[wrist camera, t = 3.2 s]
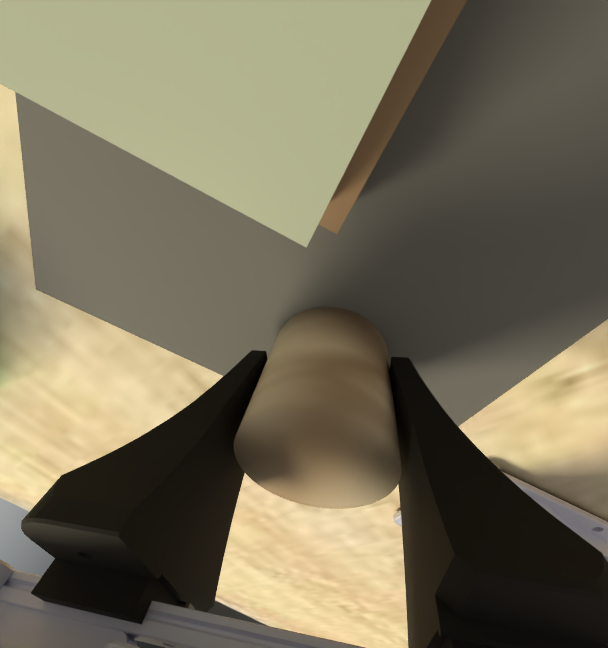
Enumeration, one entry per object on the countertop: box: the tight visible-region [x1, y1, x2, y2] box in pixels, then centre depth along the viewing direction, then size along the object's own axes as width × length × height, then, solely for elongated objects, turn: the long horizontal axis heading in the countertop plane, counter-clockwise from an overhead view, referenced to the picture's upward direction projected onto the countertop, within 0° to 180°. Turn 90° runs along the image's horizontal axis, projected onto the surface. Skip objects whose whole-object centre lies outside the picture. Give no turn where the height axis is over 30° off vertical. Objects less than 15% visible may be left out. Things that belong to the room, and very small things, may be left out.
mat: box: [15, 0, 608, 426], centre depth 10 cm, size 20×18×1 cm
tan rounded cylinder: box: [234, 307, 402, 509], centre depth 10 cm, size 5×5×5 cm
